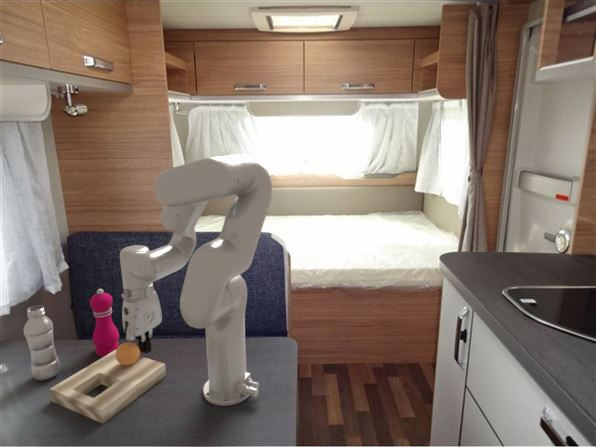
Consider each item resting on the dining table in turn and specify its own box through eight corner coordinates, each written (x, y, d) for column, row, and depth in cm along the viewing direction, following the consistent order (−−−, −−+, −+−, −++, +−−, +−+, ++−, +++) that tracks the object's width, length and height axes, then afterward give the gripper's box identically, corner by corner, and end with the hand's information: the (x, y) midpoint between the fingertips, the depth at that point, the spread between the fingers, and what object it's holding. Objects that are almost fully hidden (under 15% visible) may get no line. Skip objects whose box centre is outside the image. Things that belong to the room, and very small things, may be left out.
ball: (145, 360, 109) (143, 340, 107) (128, 372, 103) (125, 351, 102) (129, 355, 111) (127, 335, 110) (111, 366, 106) (109, 346, 104)
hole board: (166, 375, 108) (165, 363, 107) (102, 423, 90) (101, 410, 89) (118, 359, 115) (117, 348, 114) (51, 401, 98) (49, 388, 97)
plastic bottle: (66, 372, 109) (56, 305, 105) (42, 386, 103) (30, 316, 99) (51, 366, 112) (40, 301, 107) (27, 380, 106) (14, 311, 101)
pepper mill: (110, 358, 116) (102, 294, 111) (88, 355, 117) (79, 292, 113) (125, 345, 123) (118, 285, 118) (105, 343, 124) (97, 283, 119)
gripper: (126, 304, 100) (133, 368, 104) (169, 283, 113) (174, 341, 117) (105, 298, 103) (113, 361, 107) (149, 279, 116) (155, 336, 120)
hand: (145, 351), depth 112 cm, fingers closed
